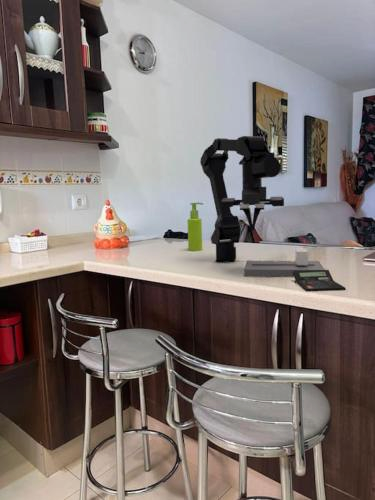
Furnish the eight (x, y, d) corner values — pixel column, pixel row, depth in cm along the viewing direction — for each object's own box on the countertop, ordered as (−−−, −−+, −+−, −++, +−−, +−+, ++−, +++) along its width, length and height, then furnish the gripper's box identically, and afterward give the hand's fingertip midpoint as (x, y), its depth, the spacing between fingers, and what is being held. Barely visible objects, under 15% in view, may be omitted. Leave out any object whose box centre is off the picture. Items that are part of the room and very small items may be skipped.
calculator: (306, 292, 91) (306, 280, 91) (292, 281, 103) (292, 270, 102) (345, 291, 91) (345, 278, 91) (327, 280, 103) (327, 269, 102)
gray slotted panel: (244, 276, 109) (243, 268, 109) (246, 266, 123) (246, 260, 123) (324, 277, 105) (325, 269, 104) (318, 267, 118) (318, 260, 118)
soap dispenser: (203, 251, 159) (202, 202, 156) (187, 251, 160) (185, 203, 157) (205, 249, 165) (204, 202, 162) (189, 249, 166) (188, 202, 163)
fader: (296, 265, 110) (296, 251, 109) (295, 261, 116) (295, 248, 115) (308, 265, 109) (308, 251, 109) (305, 261, 115) (306, 248, 114)
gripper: (217, 179, 110) (219, 233, 112) (284, 176, 106) (284, 232, 108) (222, 180, 120) (223, 229, 123) (283, 178, 117) (283, 229, 119)
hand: (252, 230), depth 118 cm, fingers closed
